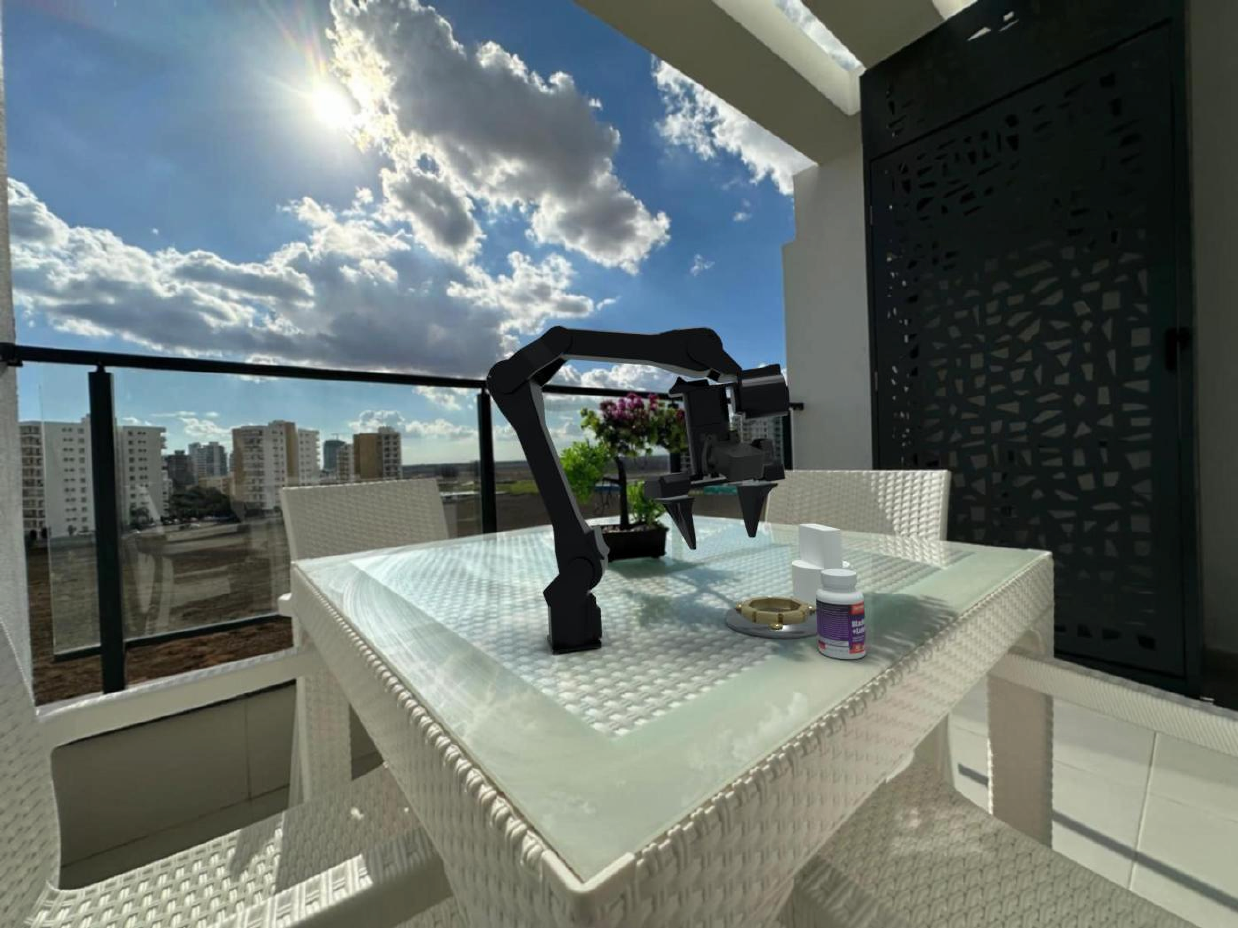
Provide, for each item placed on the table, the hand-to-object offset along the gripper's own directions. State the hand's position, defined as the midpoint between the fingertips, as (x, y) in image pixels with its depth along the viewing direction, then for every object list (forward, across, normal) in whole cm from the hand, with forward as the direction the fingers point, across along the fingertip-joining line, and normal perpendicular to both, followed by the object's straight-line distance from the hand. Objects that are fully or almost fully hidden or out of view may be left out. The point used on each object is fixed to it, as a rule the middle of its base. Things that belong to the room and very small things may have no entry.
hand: (723, 543), depth 69 cm
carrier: (+13, +9, +3) cm, 17 cm away
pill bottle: (+14, +8, -10) cm, 19 cm away
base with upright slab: (+14, +23, +9) cm, 28 cm away
